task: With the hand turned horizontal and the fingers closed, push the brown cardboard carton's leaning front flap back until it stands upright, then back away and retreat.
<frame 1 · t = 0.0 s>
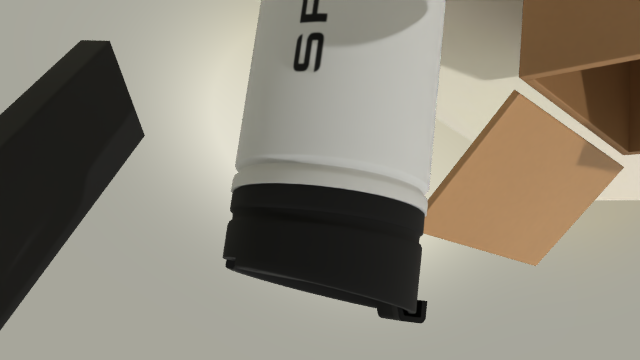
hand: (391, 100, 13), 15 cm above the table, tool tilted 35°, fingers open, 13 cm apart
flap: (526, 193, 33), point 12 cm above the table, hinge at 130.0°
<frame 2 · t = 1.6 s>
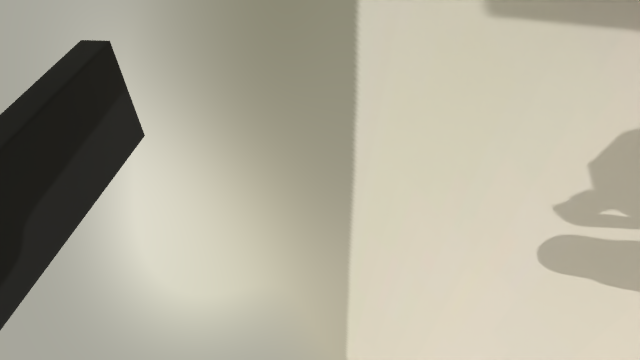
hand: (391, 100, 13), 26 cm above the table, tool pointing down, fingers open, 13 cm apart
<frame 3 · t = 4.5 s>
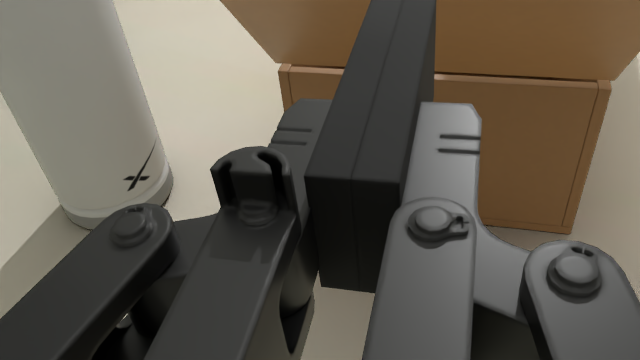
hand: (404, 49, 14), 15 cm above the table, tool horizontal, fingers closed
carton: (442, 121, 37), on the table
flap: (430, 28, 20), point 12 cm above the table, hinge at 130.0°
travel mug: (124, 195, 34), on the table
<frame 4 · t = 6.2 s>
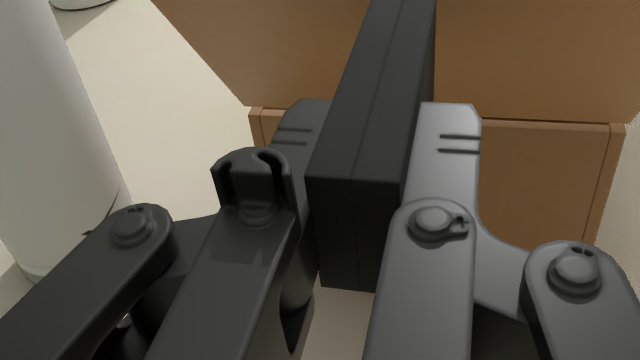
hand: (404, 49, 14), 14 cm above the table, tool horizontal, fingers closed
carton: (436, 158, 34), on the table
flap: (415, 57, 18), point 13 cm above the table, hinge at 124.1°, touching gripper
travel mug: (89, 246, 31), on the table
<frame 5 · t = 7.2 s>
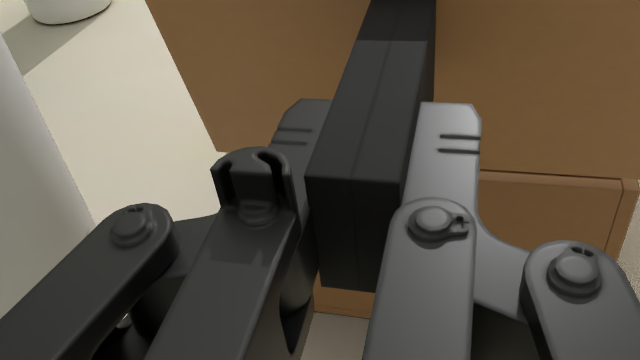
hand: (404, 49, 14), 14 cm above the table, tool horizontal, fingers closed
carton: (431, 193, 31), on the table
flap: (409, 67, 16), point 13 cm above the table, hinge at 103.6°, touching gripper
milk bottle: (74, 10, 56), on the table
travel mug: (58, 291, 29), on the table
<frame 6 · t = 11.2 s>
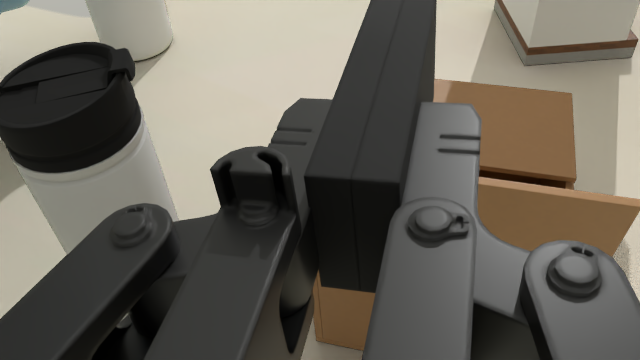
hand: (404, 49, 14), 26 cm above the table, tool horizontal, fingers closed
drip coffee maker: (557, 32, 62), on the table
carton: (441, 256, 42), on the table
flap: (443, 232, 27), point 13 cm above the table, hinge at 97.7°
milk bottle: (140, 45, 65), on the table
travel mug: (165, 318, 40), on the table
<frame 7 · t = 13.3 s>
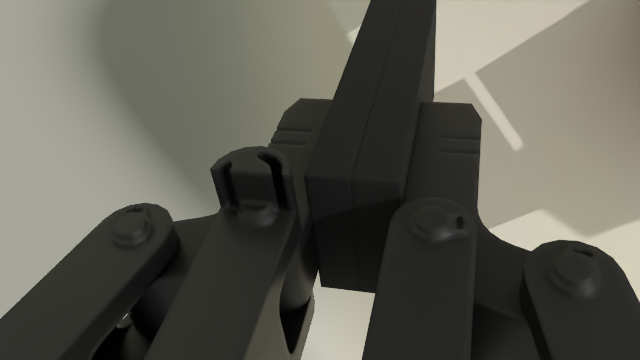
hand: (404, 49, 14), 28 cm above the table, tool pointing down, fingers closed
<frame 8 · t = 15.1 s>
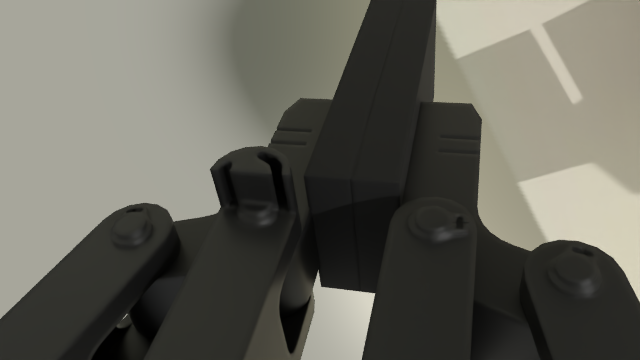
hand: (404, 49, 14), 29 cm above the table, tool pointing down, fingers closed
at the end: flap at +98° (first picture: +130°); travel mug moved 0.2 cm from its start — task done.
